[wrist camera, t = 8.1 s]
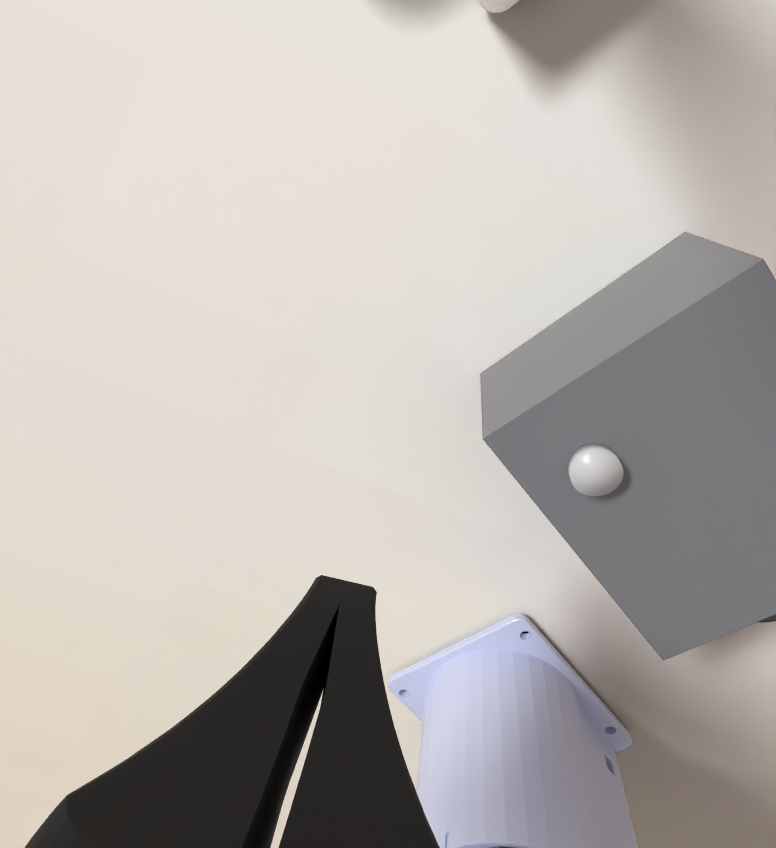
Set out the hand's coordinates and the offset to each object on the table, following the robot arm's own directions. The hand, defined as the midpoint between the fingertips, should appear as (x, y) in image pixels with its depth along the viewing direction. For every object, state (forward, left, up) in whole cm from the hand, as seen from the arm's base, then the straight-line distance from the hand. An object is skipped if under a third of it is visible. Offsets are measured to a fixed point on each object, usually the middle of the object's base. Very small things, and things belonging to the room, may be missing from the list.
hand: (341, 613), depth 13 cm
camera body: (-5, -8, -10) cm, 14 cm away
